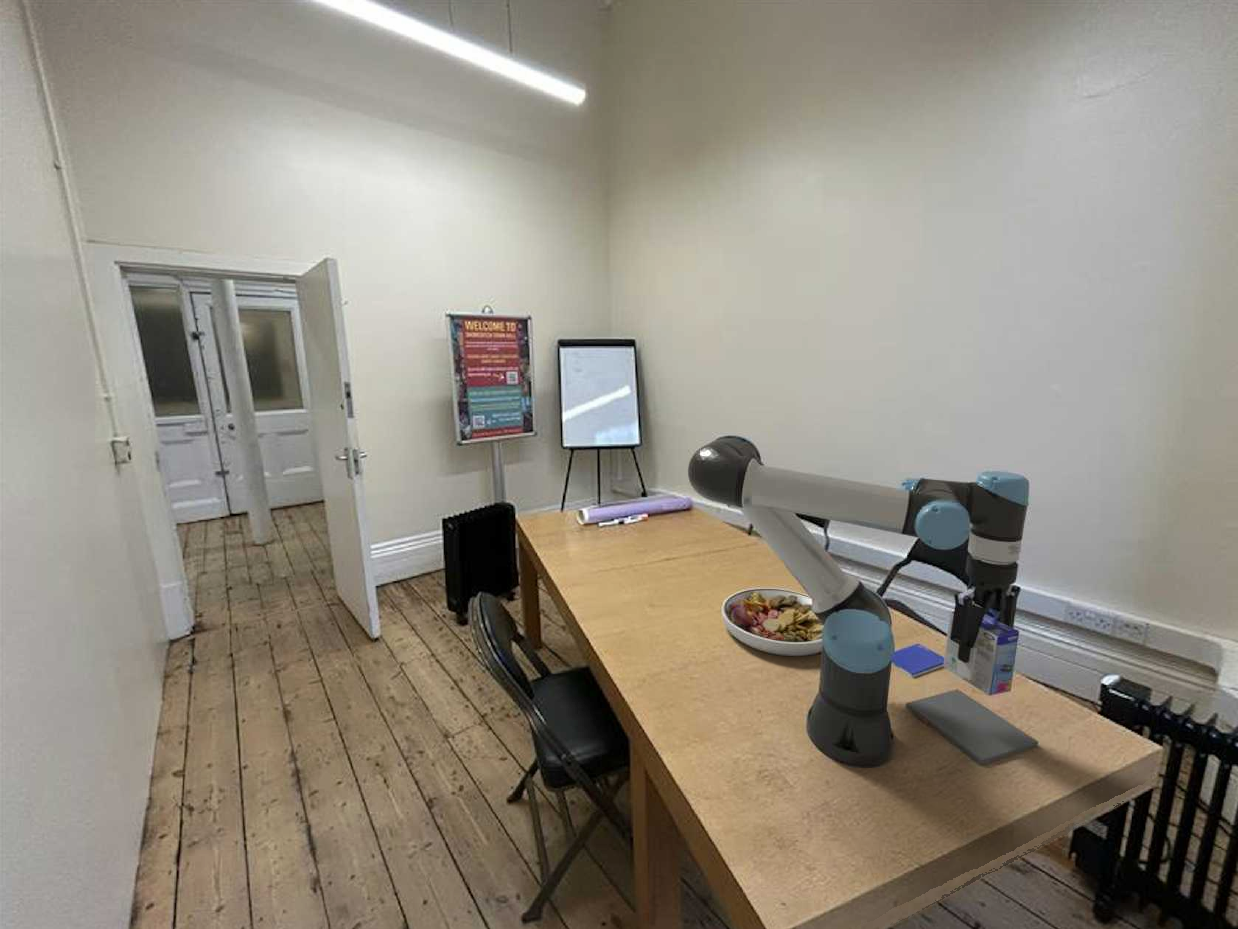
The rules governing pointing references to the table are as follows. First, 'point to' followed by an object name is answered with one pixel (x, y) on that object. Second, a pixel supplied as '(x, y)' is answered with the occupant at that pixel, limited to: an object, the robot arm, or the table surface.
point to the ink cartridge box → (988, 655)
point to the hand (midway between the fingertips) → (976, 672)
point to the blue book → (916, 660)
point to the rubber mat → (971, 726)
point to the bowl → (774, 621)
